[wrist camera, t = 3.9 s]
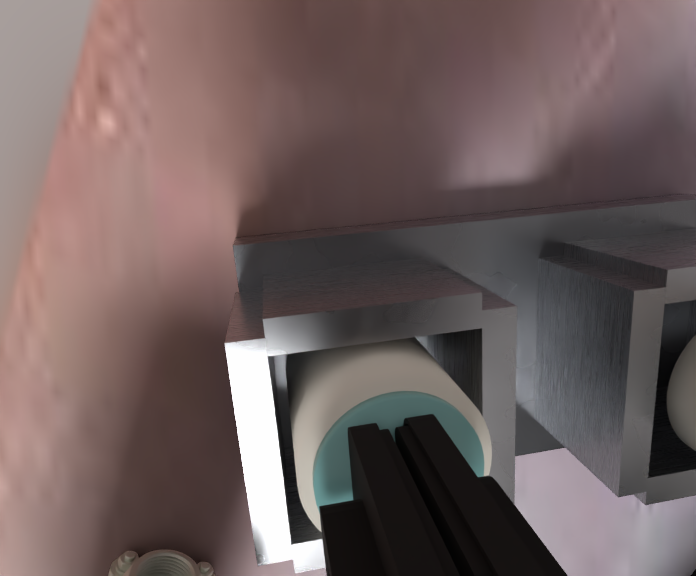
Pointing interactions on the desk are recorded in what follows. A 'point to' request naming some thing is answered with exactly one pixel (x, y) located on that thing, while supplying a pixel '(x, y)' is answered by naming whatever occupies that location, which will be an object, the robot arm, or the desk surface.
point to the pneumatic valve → (159, 565)
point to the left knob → (370, 410)
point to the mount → (479, 338)
